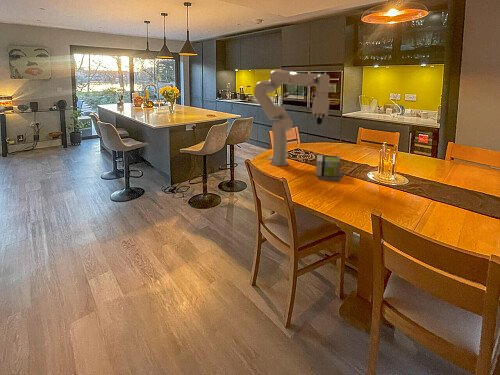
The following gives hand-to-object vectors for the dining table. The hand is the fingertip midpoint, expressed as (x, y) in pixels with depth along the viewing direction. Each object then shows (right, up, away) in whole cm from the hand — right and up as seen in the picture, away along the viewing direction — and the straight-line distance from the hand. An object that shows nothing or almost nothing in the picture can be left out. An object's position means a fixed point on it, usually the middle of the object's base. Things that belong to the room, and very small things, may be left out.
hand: (319, 124), depth 223 cm
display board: (+7, -34, -5) cm, 35 cm away
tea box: (-2, -27, -1) cm, 27 cm away
